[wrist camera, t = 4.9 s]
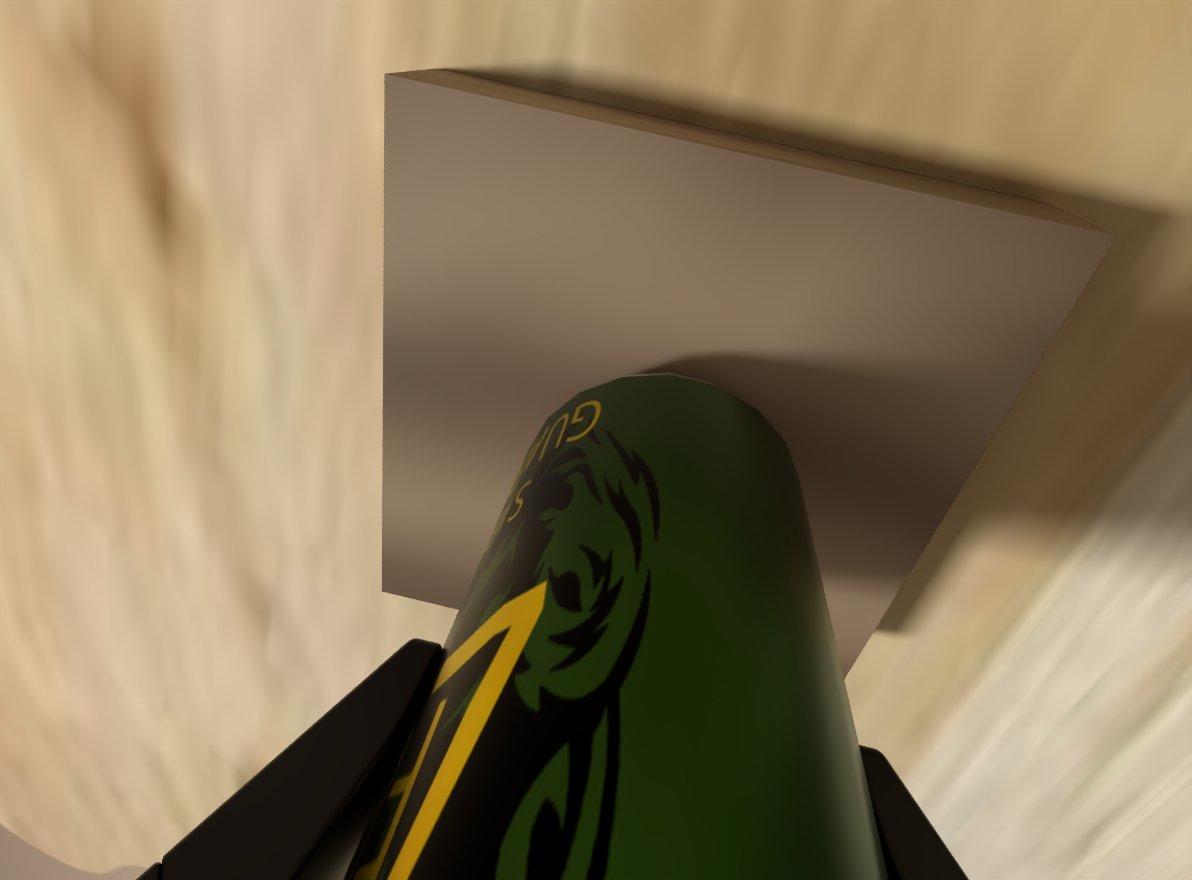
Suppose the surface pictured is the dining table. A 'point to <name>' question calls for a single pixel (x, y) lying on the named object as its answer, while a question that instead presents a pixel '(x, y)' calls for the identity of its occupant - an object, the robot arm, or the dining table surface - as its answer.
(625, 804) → the beer can
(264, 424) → the dining table surface
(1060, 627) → the dining table surface
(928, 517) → the walnut block
